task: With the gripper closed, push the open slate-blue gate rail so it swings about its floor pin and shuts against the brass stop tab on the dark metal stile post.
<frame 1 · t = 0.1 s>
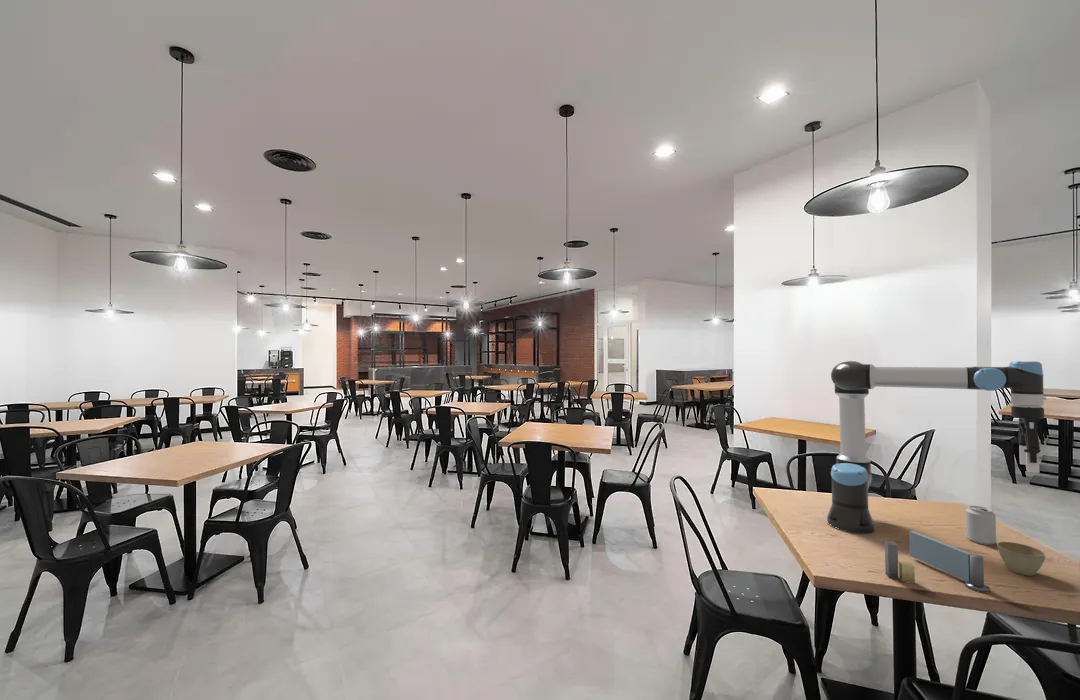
hand: (1029, 468, 147), 28 cm above the table, fingers open, 13 cm apart
hinge flange: (977, 588, 124), on the table
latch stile: (891, 576, 131), on the table
can: (981, 542, 155), on the table
gate: (944, 557, 132), point 5 cm above the table, hinge at -60.0°
olive beige bowl: (1021, 572, 133), on the table
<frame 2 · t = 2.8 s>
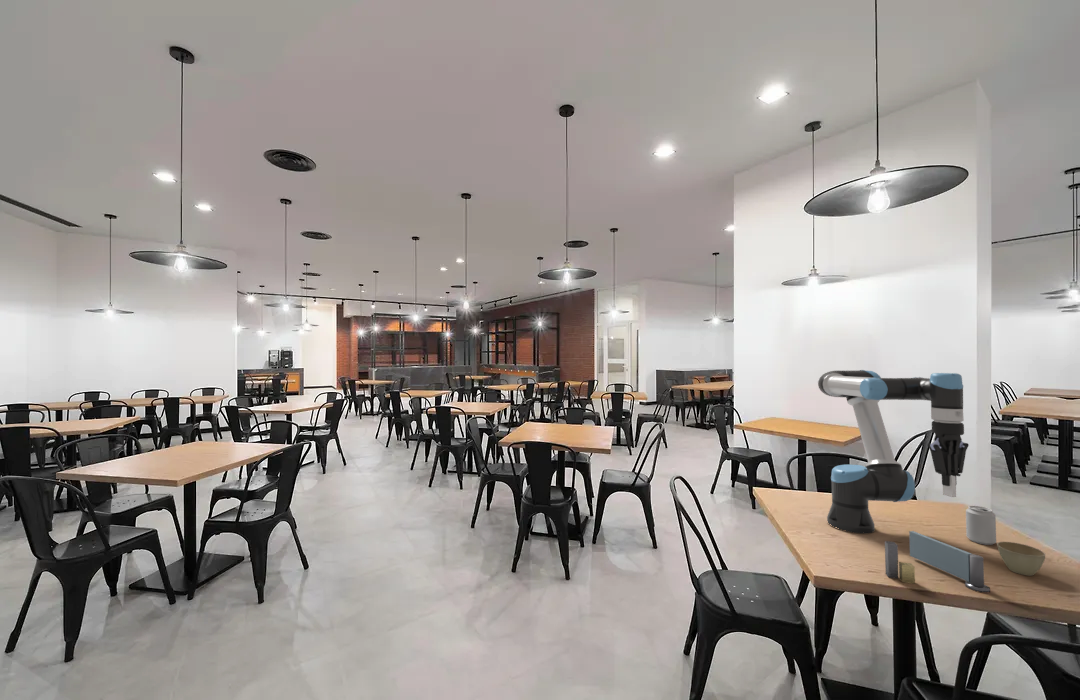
hand: (949, 495, 137), 22 cm above the table, fingers closed
nothing on the table moved.
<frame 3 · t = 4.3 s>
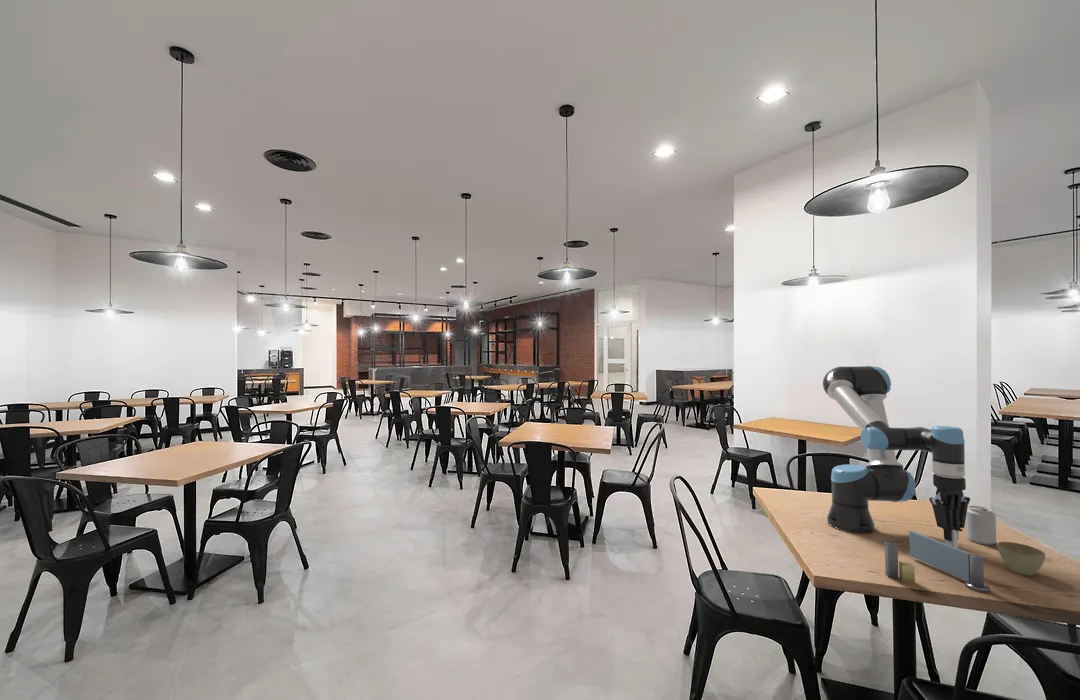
hand: (951, 550, 136), 5 cm above the table, fingers closed
nothing on the table moved.
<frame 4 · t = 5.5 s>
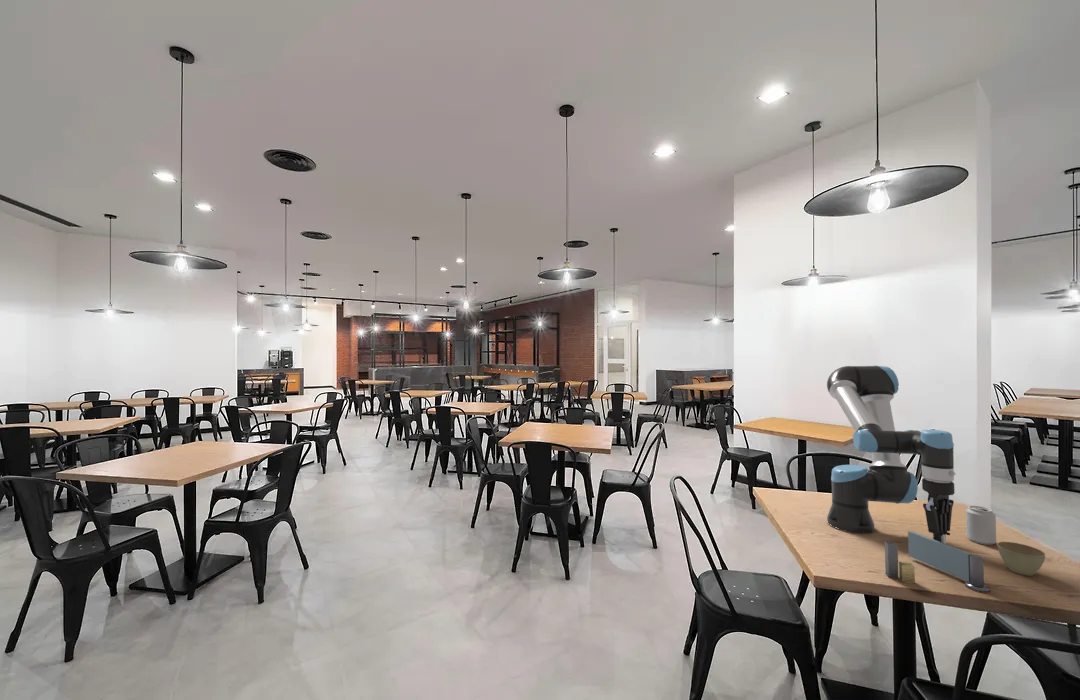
hand: (940, 554, 136), 4 cm above the table, fingers closed
gate: (943, 557, 132), point 5 cm above the table, hinge at -58.4°, touching gripper
everything else where it was.
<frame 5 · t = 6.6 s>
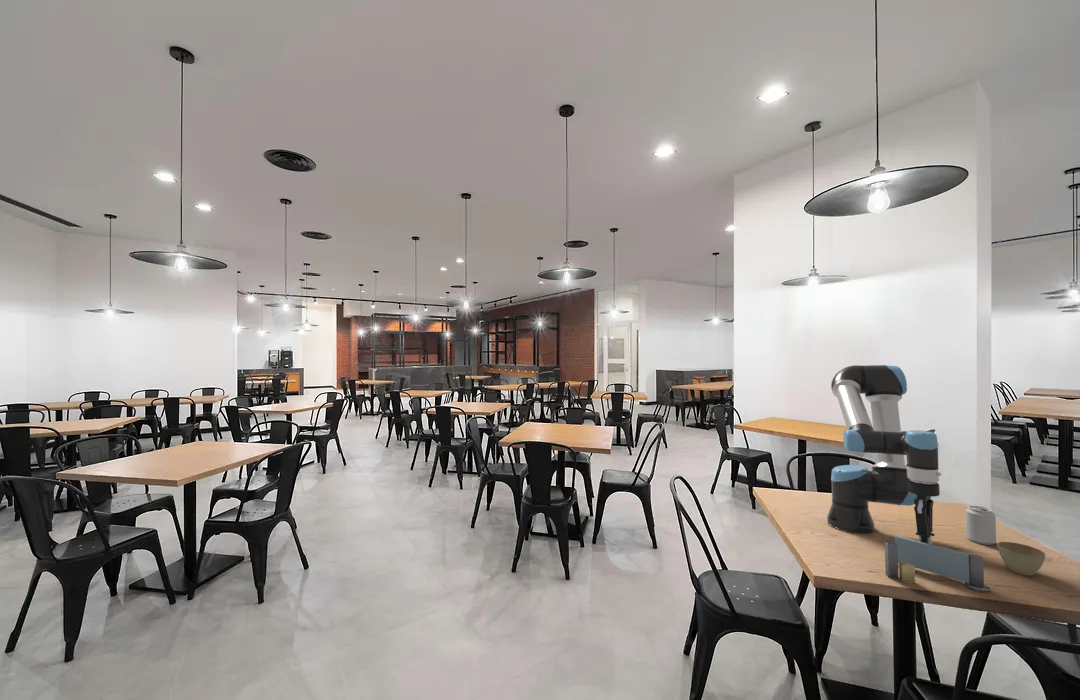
hand: (925, 556, 135), 4 cm above the table, fingers closed
gate: (936, 559, 130), point 5 cm above the table, hinge at -31.6°, touching gripper
everything else where it was.
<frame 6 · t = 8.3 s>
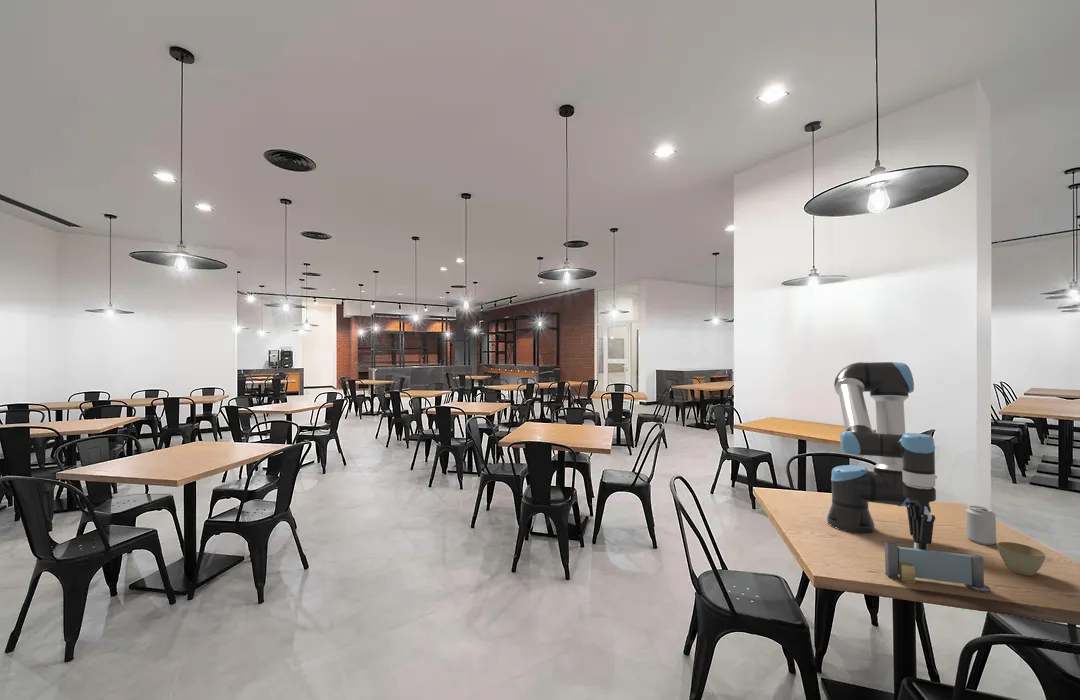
hand: (921, 563, 131), 4 cm above the table, fingers closed
gate: (939, 565, 127), point 5 cm above the table, hinge at 0.9°, touching gripper, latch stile
everything else where it was.
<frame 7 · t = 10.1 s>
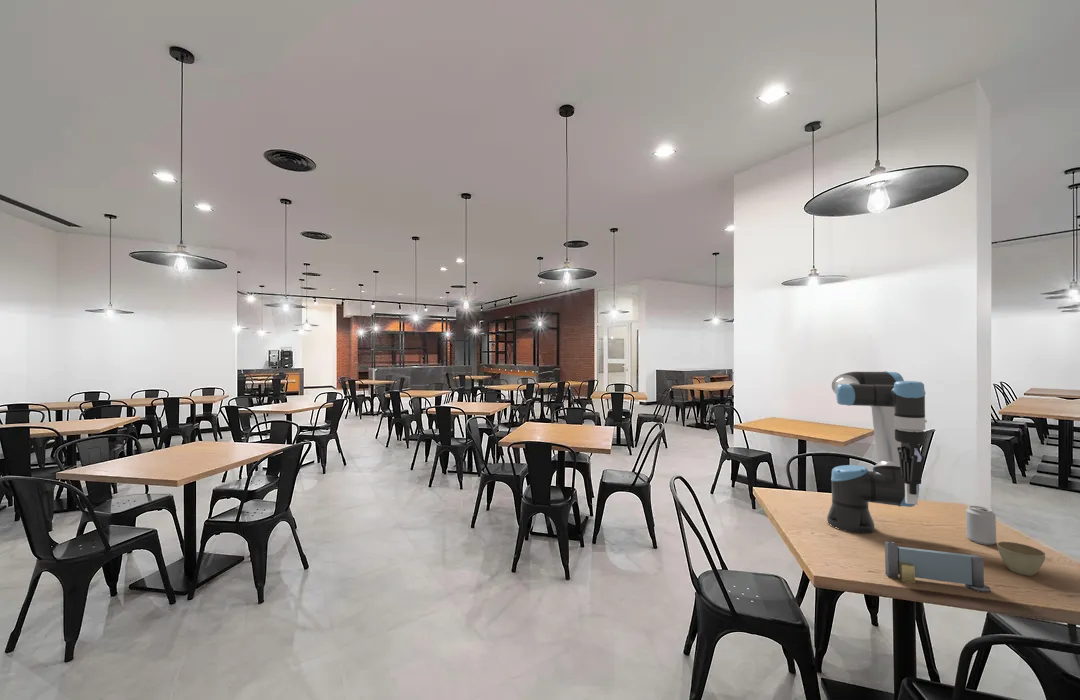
hand: (911, 503, 138), 20 cm above the table, fingers closed
gate: (939, 565, 127), point 5 cm above the table, hinge at 0.8°, touching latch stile
everything else where it was.
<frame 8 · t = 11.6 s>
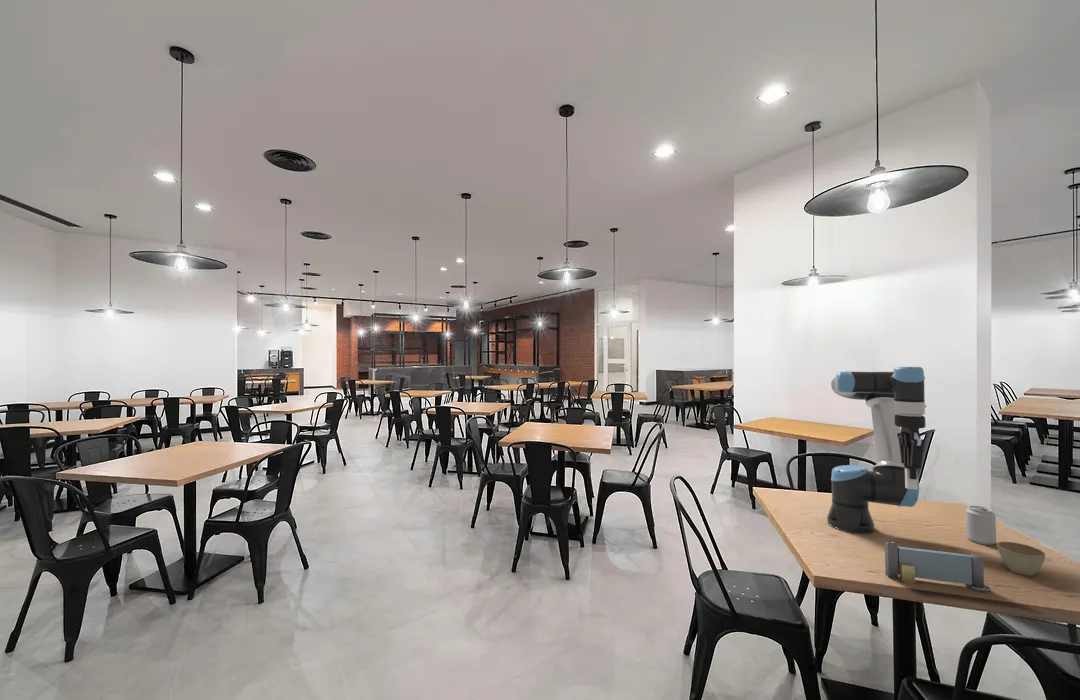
hand: (911, 488, 138), 24 cm above the table, fingers closed
nothing on the table moved.
at the end: gate at +1° (first picture: -60°); gate touching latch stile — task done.
